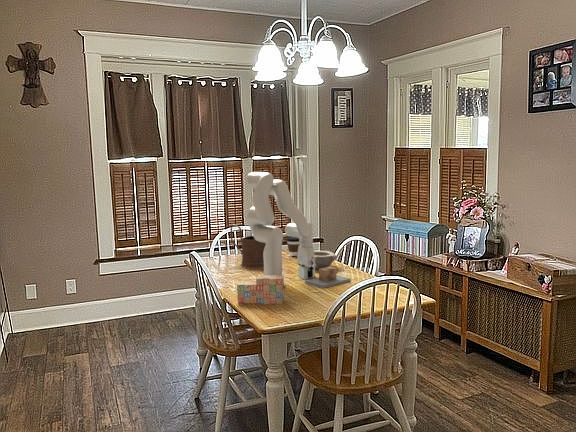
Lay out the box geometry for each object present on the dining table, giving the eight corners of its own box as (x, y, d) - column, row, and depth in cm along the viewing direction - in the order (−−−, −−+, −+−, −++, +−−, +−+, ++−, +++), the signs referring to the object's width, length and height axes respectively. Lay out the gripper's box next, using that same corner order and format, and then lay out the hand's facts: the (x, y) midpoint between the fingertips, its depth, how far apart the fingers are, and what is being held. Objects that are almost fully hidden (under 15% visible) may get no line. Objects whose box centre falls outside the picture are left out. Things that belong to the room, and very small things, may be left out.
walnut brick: (325, 281, 274) (325, 270, 273) (319, 280, 278) (318, 268, 277) (336, 279, 279) (336, 268, 278) (329, 277, 283) (329, 266, 282)
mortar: (338, 270, 306) (338, 254, 305) (310, 272, 302) (310, 256, 301) (330, 264, 322) (329, 249, 321) (303, 266, 319) (303, 251, 317)
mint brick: (304, 279, 286) (304, 268, 285) (298, 277, 290) (298, 267, 289) (315, 276, 291) (314, 266, 290) (309, 275, 295) (308, 264, 294)
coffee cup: (295, 253, 357) (295, 236, 356) (306, 255, 349) (305, 237, 347) (283, 255, 350) (282, 238, 349) (293, 258, 342) (293, 240, 340)
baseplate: (323, 288, 267) (323, 285, 267) (305, 283, 278) (305, 280, 278) (350, 281, 280) (350, 278, 279) (332, 276, 290) (332, 274, 290)
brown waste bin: (267, 268, 314) (265, 227, 311) (228, 268, 318) (226, 227, 315) (272, 262, 332) (271, 223, 329) (235, 261, 336) (234, 223, 333)
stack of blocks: (237, 304, 244) (236, 278, 242) (240, 300, 250) (239, 275, 249) (283, 304, 242) (282, 278, 240) (284, 300, 248) (283, 275, 246)
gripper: (290, 243, 292) (291, 275, 295) (311, 247, 279) (311, 280, 282) (301, 241, 297) (301, 272, 299) (321, 245, 284) (322, 277, 286)
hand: (306, 276), depth 290 cm, fingers closed on mint brick, 5 cm apart
